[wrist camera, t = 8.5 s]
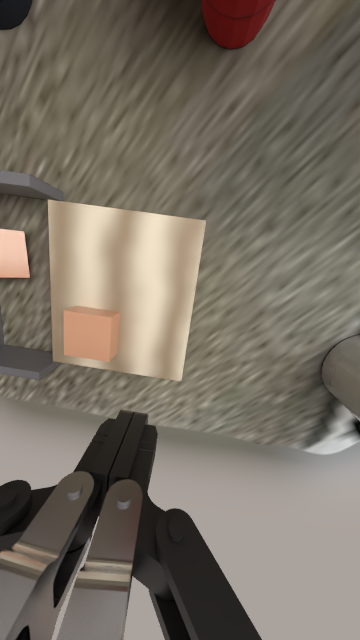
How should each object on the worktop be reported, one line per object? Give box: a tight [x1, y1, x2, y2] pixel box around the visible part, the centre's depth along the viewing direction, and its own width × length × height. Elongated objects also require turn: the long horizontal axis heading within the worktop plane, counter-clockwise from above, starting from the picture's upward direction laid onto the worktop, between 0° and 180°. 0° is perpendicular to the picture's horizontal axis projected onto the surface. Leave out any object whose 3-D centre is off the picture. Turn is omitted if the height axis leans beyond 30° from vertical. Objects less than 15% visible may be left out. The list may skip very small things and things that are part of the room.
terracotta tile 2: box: [63, 306, 120, 362], centre depth 23 cm, size 5×5×2 cm
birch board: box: [48, 200, 206, 381], centre depth 25 cm, size 16×18×3 cm
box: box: [0, 170, 63, 380], centre depth 24 cm, size 10×21×5 cm, turn 172°
